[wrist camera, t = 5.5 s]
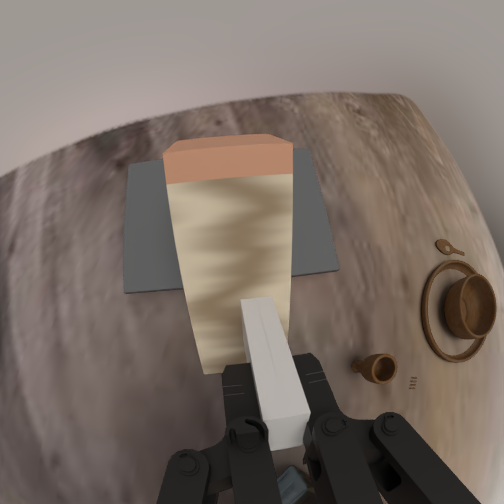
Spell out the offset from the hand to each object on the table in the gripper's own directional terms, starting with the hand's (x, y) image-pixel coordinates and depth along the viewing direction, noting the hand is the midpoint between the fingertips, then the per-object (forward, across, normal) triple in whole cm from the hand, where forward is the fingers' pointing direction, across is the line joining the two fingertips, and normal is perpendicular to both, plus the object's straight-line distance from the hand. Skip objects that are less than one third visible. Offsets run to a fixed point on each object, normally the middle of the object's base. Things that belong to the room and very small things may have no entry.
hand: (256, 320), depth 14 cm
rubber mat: (+16, -1, 0) cm, 16 cm away
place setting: (+7, +20, -9) cm, 23 cm away
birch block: (+6, -1, -7) cm, 9 cm away
